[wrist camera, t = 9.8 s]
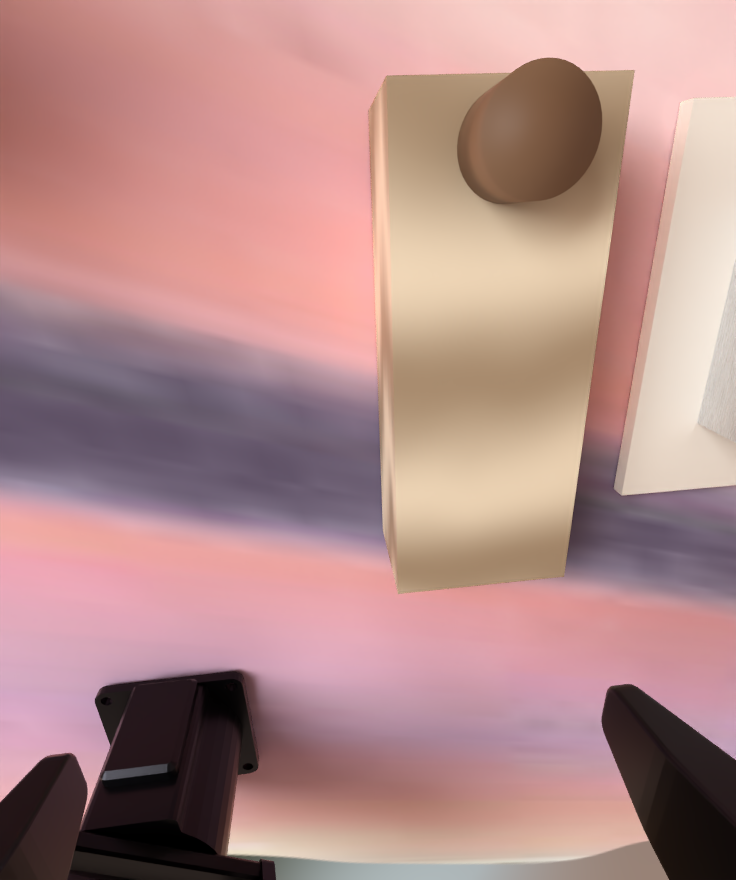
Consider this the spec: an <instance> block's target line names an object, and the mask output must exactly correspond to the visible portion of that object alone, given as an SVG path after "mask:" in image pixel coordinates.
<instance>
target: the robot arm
mask: <svg viewBox="0 0 736 880" xmlns="http://www.w3.org/2000/svg"><path fill="white" fill-rule="evenodd" d="M231 683H234V684H231ZM95 704H96V707H97V710H98V712H99V715H100V718H101V721H102V723H103V726H104V729H105V732H106V735H107V737H108V740H109V743H110V746H111V747H110V749H109V752H108V754H107V757H106V760H105V762H104V765H103V768H102V770H101V773H100V775H99V778H98V781H97V783H96V786H95V789H94V791H93V794H92V796H91V799H90V802H89V804H88V807H87V810H86V812H85V815H84V817H83V813H84V809H85V805H86V801H87V783H86V781H85V778H84V776H83V773H82V771H81V768H80V766H79V764H78V761H77V759H76V757H75V755H73V754H72V753H64V754H56V755H50V756H47V757H45V758H43V759H42V760H41V761H40V762H38V763H37V765H36V766H35V767H34V768H33V769H32V770H31V771H30V772H29V773H28V774H27V775H26V776H25V777H24V778H23V779H22V780H21V781H20V782H19V783H18V784H17V785H16V786H15V787H14V788H13V789H12V790H11V792H10V793H9V794H8V795H7V796H6V797H5V798H4V799H3V800H2V801H1V802H0V880H276V875H275V864H274V861H269V860H263V859H260V861H259V862H258V861H252V860H246V859H241V858H235V857H229V856H227V852H228V844H229V837H230V829H231V821H232V814H233V806H234V799H235V791H236V784H237V776H238V775H239V774H247V773H252V772H254V771H256V770H257V768H258V761H259V756H258V750H257V745H256V740H255V735H254V729H253V724H252V719H251V714H250V708H249V703H248V698H247V693H246V687H245V682H244V678H243V676H242V675H241V674H240V673H237V672H225V673H216V674H207V675H198V676H190V677H181V678H172V679H163V680H154V681H146V682H137V683H128V684H119V685H110V686H105V687H102V688H101V689H100V690H99V692H98V694H97V696H96V698H95ZM602 728H603V731H604V734H605V737H606V739H607V741H608V744H609V746H610V749H611V751H612V754H613V756H614V759H615V761H616V763H617V766H618V768H619V771H620V773H621V776H622V778H623V781H624V783H625V786H626V788H627V790H628V793H629V795H630V798H631V800H632V803H633V805H634V808H635V810H636V812H637V815H638V817H639V819H640V822H641V824H642V826H643V829H644V831H645V833H646V835H647V837H648V839H649V841H650V843H651V845H652V847H653V849H654V851H655V853H656V855H657V857H658V859H659V861H660V863H661V865H662V867H663V868H664V870H665V872H666V874H667V876H668V878H669V880H736V760H735V759H734V758H732V757H731V756H730V755H728V754H727V753H725V752H724V751H723V750H721V749H720V748H719V747H717V746H716V745H715V744H713V743H712V742H711V741H709V740H708V739H707V738H705V737H704V736H703V735H701V734H700V733H699V732H697V731H696V730H694V729H693V728H692V727H690V726H689V725H688V724H686V723H685V722H684V721H682V720H681V719H680V718H678V717H677V716H676V715H674V714H673V713H672V712H670V711H669V710H667V709H666V708H665V707H663V706H662V705H661V704H659V703H658V702H657V701H655V700H654V699H653V698H651V697H650V696H649V695H647V694H646V693H645V692H643V691H642V690H641V689H639V688H638V687H636V686H634V685H631V684H624V685H616V686H611V687H609V689H608V690H607V693H606V698H605V703H604V708H603V713H602ZM82 818H83V820H82ZM81 822H82V823H81Z"/></svg>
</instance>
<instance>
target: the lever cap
mask: <svg viewBox="0 0 736 880" xmlns="http://www.w3.org/2000/svg"><path fill="white" fill-rule="evenodd" d="M697 423H698V424H700V425H702V426H704V427H706V428H708V429H710V430H712V431H714V432H716V433H717V434H719V435H721V436H723V437H725V438H727V439H729V440H731V441H733V442H735V443H736V259H735V263H734V267H733V271H732V276H731V280H730V284H729V289H728V293H727V297H726V301H725V306H724V310H723V314H722V319H721V323H720V327H719V331H718V336H717V340H716V344H715V349H714V353H713V357H712V361H711V366H710V370H709V374H708V379H707V383H706V387H705V391H704V396H703V400H702V404H701V409H700V413H699V417H698V421H697Z"/></svg>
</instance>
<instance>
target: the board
mask: <svg viewBox="0 0 736 880" xmlns="http://www.w3.org/2000/svg"><path fill="white" fill-rule="evenodd" d="M735 259H736V97H714V98H692V99H689V100H686V101H683V102H680V108H679V114H678V120H677V126H676V131H675V137H674V143H673V149H672V154H671V160H670V166H669V172H668V178H667V183H666V189H665V195H664V201H663V206H662V212H661V218H660V224H659V230H658V235H657V241H656V247H655V253H654V259H653V264H652V270H651V276H650V282H649V287H648V293H647V299H646V305H645V311H644V316H643V322H642V328H641V334H640V339H639V345H638V351H637V357H636V363H635V368H634V374H633V380H632V386H631V391H630V397H629V403H628V409H627V415H626V420H625V426H624V432H623V438H622V444H621V449H620V455H619V461H618V467H617V472H616V478H615V484H614V489H615V490H616V491H617V492H618V493H619V494H620V495H633V494H644V493H654V492H665V491H676V490H687V489H698V488H709V487H720V486H730V485H736V443H735V442H733V441H731V440H729V439H727V438H725V437H723V436H721V435H719V434H717V433H716V432H714V431H712V430H710V429H708V428H706V427H704V426H702V425H700V424H698V423H697V421H698V417H699V413H700V409H701V404H702V400H703V396H704V391H705V387H706V383H707V379H708V374H709V370H710V366H711V361H712V357H713V353H714V349H715V344H716V340H717V336H718V331H719V327H720V323H721V319H722V314H723V310H724V306H725V301H726V297H727V293H728V289H729V284H730V280H731V276H732V271H733V267H734V263H735Z"/></svg>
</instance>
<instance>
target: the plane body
mask: <svg viewBox="0 0 736 880" xmlns="http://www.w3.org/2000/svg"><path fill="white" fill-rule="evenodd" d="M634 71H635V70H620V71H582V70H581V69H580V68H579V67H577V66H576V65H574V64H573V63H570V62H568V61H566V60H562V59H558V58H541V59H537V60H533V61H531V62H528V63H526V64H524V65H522V66H521V67H519V68H517V69H516V70H515V71H513V72H512V73H484V74H439V75H394V76H386V78H385V80H384V82H383V84H382V86H381V87H380V89H379V91H378V93H377V95H376V97H375V99H374V101H373V103H372V105H371V107H370V109H369V111H368V114H369V143H370V172H371V200H372V229H373V258H374V286H375V315H376V344H377V372H378V401H379V430H380V458H381V487H382V516H383V532H384V536H385V541H386V545H387V549H388V553H389V558H390V562H391V566H392V570H393V575H394V579H395V583H396V587H397V591H398V594H402V593H411V592H421V591H430V590H440V589H449V588H459V587H469V586H478V585H488V584H497V583H507V582H516V581H526V580H536V579H545V578H555V577H564V573H565V566H566V558H567V551H568V544H569V537H570V530H571V522H572V515H573V508H574V501H575V494H576V487H577V479H578V472H579V465H580V458H581V451H582V444H583V436H584V429H585V422H586V415H587V408H588V401H589V393H590V386H591V379H592V372H593V365H594V358H595V350H596V343H597V336H598V329H599V322H600V314H601V307H602V300H603V293H604V286H605V279H606V271H607V264H608V257H609V250H610V243H611V236H612V228H613V221H614V214H615V207H616V200H617V193H618V185H619V178H620V171H621V164H622V157H623V150H624V142H625V135H626V128H627V121H628V114H629V107H630V99H631V92H632V85H633V78H634Z"/></svg>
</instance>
